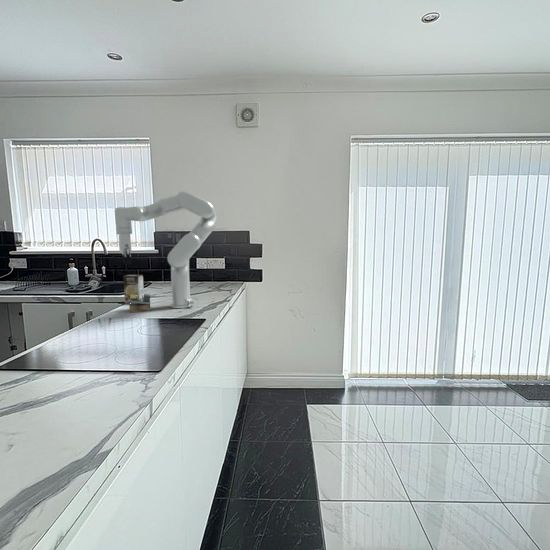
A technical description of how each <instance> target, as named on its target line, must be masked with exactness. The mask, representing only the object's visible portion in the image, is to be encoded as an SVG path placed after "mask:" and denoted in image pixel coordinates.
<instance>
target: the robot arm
mask: <svg viewBox="0 0 550 550" xmlns="http://www.w3.org/2000/svg"><path fill="white" fill-rule="evenodd" d="M185 210H186V211H188V212H190V213H193V214H195V215H197V216H199V217H200V220H199V222H198V223H197V224H195V226H194V228H193V229H192V230H191V231H190V232H188V233H187V234H185V235H183V237H182V238H180V240H179V241H178V242H177V243H176V244H175V245H174V247H173V248H172V249H171V250H170V251H169V253H168V254H167V263H168V264H169V266H170V278H171V281H170V284H171V297H172V299H171V300H172V302H171V303H170V304H169V307H170V309H186V308H191V307H193V306H194V305H196V304H197V300H196V299H193V297H191V286H190V285H191V284H190V259H191V258H192V256H193V255H194V254H195V253H196V252H197V250H199V249H200V248H201V246H202V244H203V243H204V242H205V241H206V239H208V237H209V236H210V235H211V234H212V233H213V231H214V229H215V227H216V225H217V222H218V221H217V220H218V216H217V212H216V209H215V207H214V206H213V204H212V203H211V202H210V201H207V200H205V199H203V198H201V197H199V196H197V195H195V194H193V193H191V192H190V191H188V190H182V191H180V192H178V193H177V194H175V195H171V196H167V197H162V198H160V199H159V200H158V201H157V202H154V203H152V204H148V205H145V206H137V205H136V206H128V207H126V206H122V207H121V206H120V207H119V206H118V207H115V209H114V219H115V227H116V228H115V229H116V235H118V247H119V253H120V254H122V255H121V257H122V258H121V260H122V264H124V265H125V266H129V265H133V263H132V262H133V260H132V254H131V253H132V241H131V238H132V237H131V235H133V225H132V222H133V221H134V222H145V221H149V220H154V219H156V218H160V217H163V216H166V215H170V214H174V213H177V212H180V211H185Z"/></svg>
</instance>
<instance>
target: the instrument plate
mask: <svg viewBox="0 0 550 550" xmlns="http://www.w3.org/2000/svg"><path fill="white" fill-rule="evenodd" d="M130 302H131V303H141V304H150V305H151V295H150V294H145V293H144V297H143V299H141V298H140V297H138V295H136V294H131V296H130Z"/></svg>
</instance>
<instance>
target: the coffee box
mask: <svg viewBox="0 0 550 550" xmlns="http://www.w3.org/2000/svg"><path fill="white" fill-rule="evenodd" d="M143 275H144V274H126V275H123V278H122V279H123V293H124V294H123V295H124V296H123V297H124V304H126V305H128V304H129V305H130V303H131V302H130V296H131V294H136V295H138V297H140V298H141V299H143V297H144V294H145V291H144V289H145V287H144V276H143ZM131 304H132V303H131Z"/></svg>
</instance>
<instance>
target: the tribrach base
mask: <svg viewBox="0 0 550 550" xmlns="http://www.w3.org/2000/svg"><path fill="white" fill-rule="evenodd" d="M151 309H152V308H151V303H150V304H141V303H132V304H129V313H138V312H139V313H140V312H149V310H151ZM151 311H152V310H151Z"/></svg>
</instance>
